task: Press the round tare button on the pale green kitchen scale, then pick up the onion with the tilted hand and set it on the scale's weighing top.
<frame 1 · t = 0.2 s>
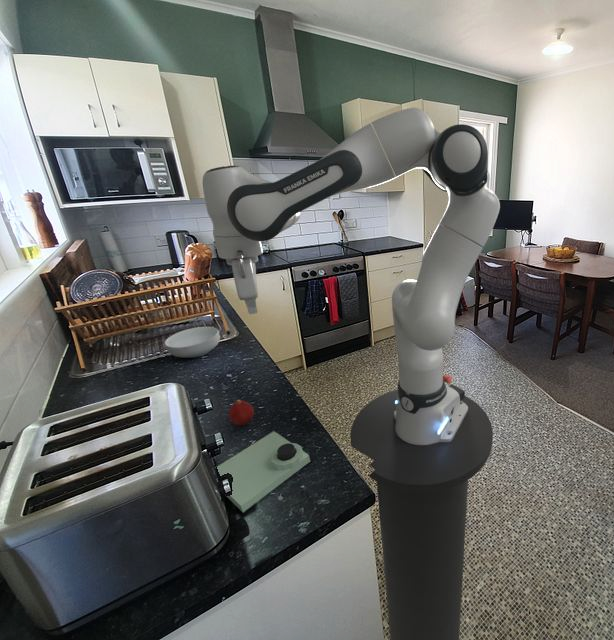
hand: (252, 306, 81), 33 cm above the counter, tool pointing down, fingers open, 8 cm apart
onion: (244, 425, 92), on the counter
scale: (261, 470, 78), on the counter
cereal bowl: (197, 353, 128), on the counter
tare button: (286, 452, 77), point 4 cm above the counter, slide at 0.1 cm
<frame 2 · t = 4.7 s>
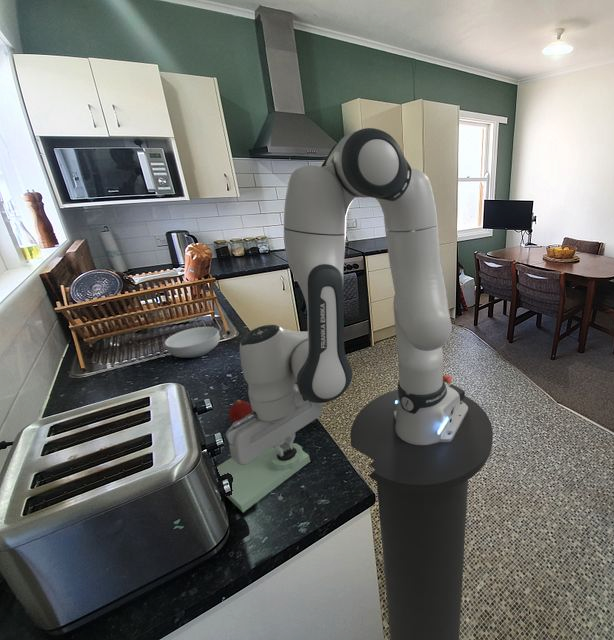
hand: (285, 451, 77), 4 cm above the counter, tool pointing down, fingers closed, pressing on tare button
tare button: (287, 454, 78), point 3 cm above the counter, slide at -0.7 cm, touching gripper
everything else where it was.
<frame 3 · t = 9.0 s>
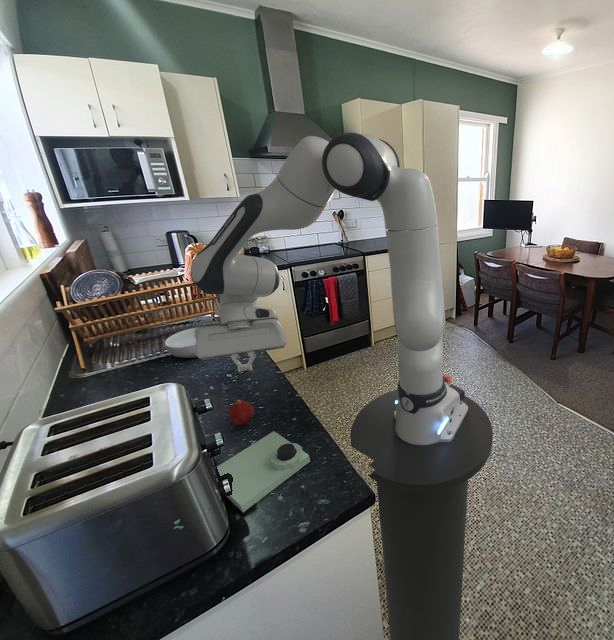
hand: (245, 371, 86), 16 cm above the counter, tool tilted 35°, fingers closed
tare button: (286, 452, 77), point 4 cm above the counter, slide at 0.1 cm
everything else where it was.
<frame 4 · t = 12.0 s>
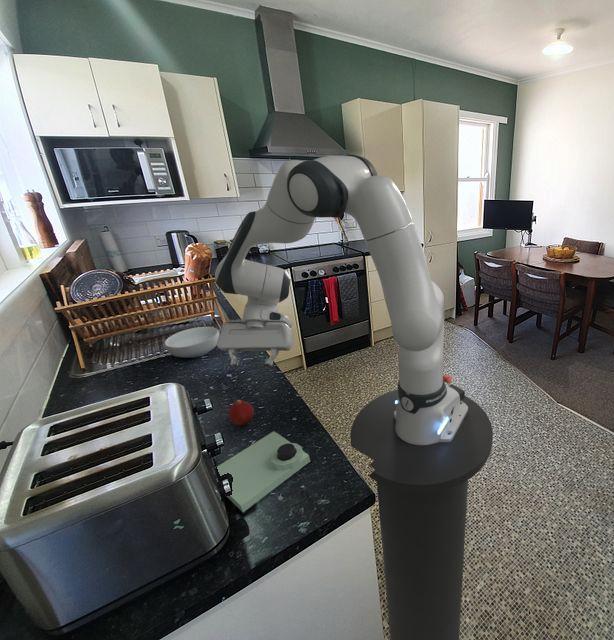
hand: (251, 365, 96), 12 cm above the counter, tool tilted 45°, fingers open, 8 cm apart
nothing on the counter moved.
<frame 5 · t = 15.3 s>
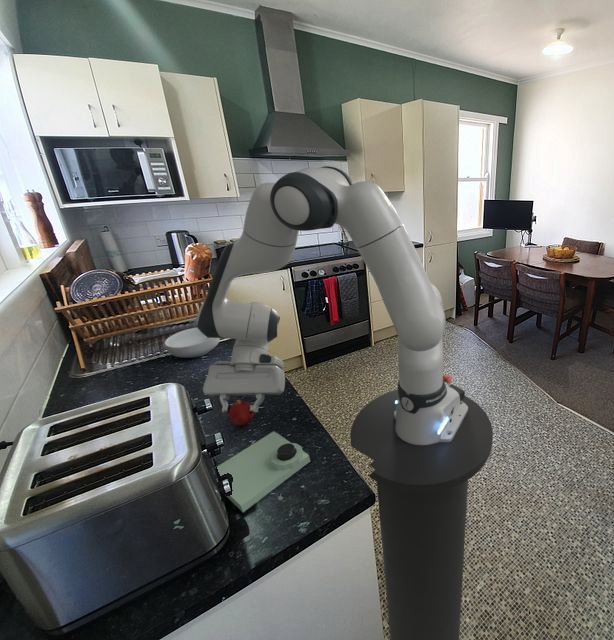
hand: (239, 412, 89), 4 cm above the counter, tool tilted 45°, fingers closed on onion, 6 cm apart
onion: (244, 425, 92), on the counter, touching gripper
everything else where it was.
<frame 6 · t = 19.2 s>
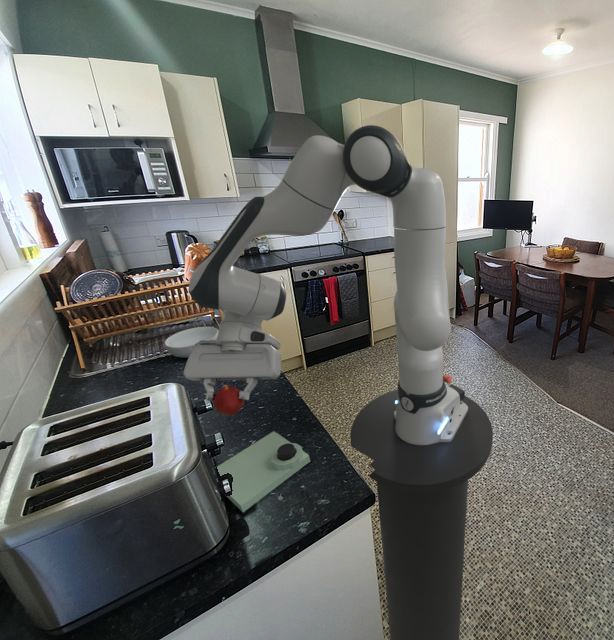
hand: (227, 400, 75), 16 cm above the counter, tool tilted 45°, fingers closed on onion, 6 cm apart
onion: (233, 415, 78), point 11 cm above the counter, touching gripper
everything else where it was.
when the fingers open (6 cm above the counter, at t = 23.5 s): onion stays where it is, resting on scale.
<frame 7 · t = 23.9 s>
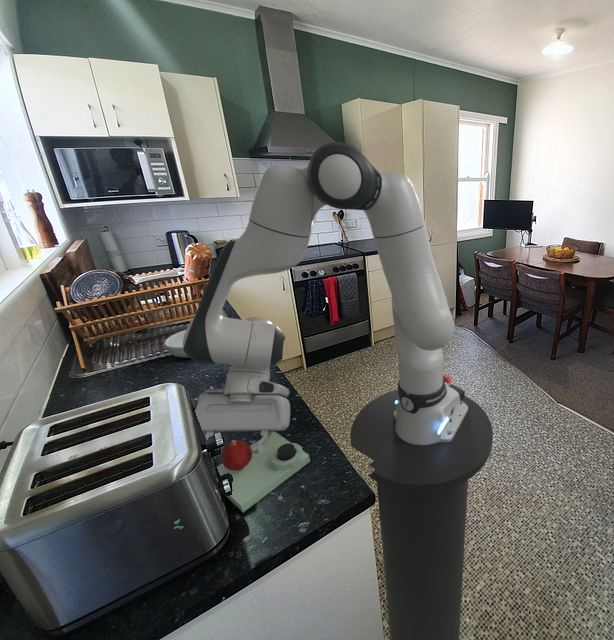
hand: (235, 453, 73), 7 cm above the counter, tool tilted 45°, fingers open, 8 cm apart
onion: (241, 469, 76), point 2 cm above the counter, touching scale
everything else where it was.
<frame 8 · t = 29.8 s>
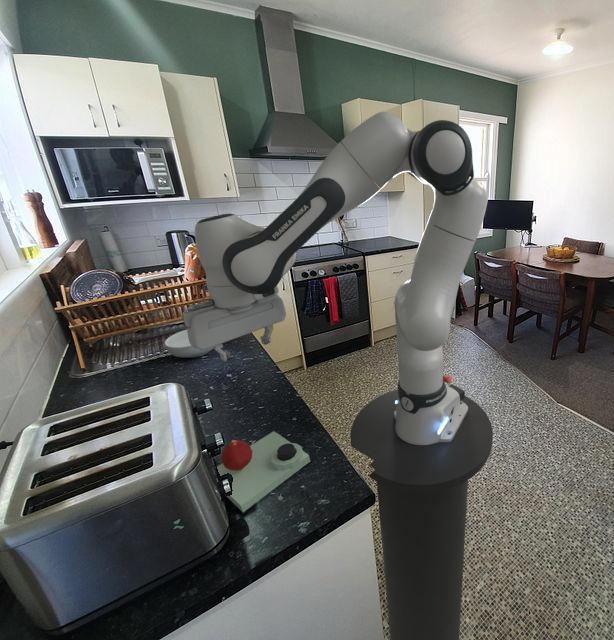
hand: (247, 351, 79), 24 cm above the counter, tool pointing down, fingers open, 8 cm apart
nothing on the counter moved.
at the end: tare button pushed in 0.8 cm at the most during the clip, back to where it started at the end; onion inside the target area on the scale (3.7 cm from its centre), point 1.7 cm above the scale's base; onion touching scale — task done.
